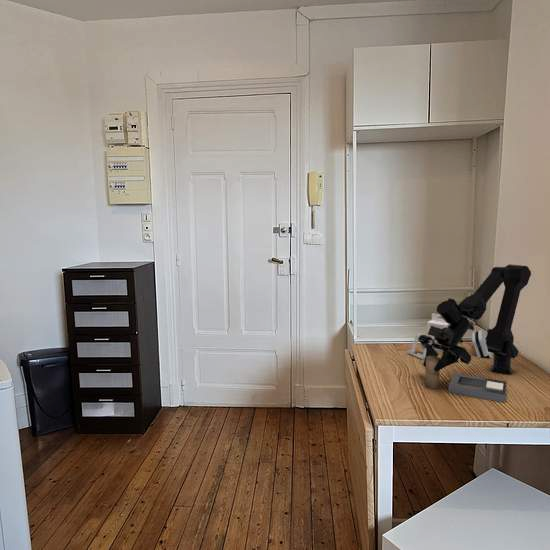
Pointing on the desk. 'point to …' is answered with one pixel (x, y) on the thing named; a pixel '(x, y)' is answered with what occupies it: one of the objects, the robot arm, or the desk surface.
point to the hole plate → (490, 389)
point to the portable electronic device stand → (415, 348)
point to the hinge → (480, 344)
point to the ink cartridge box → (436, 324)
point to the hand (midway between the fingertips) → (429, 368)
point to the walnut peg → (431, 373)
